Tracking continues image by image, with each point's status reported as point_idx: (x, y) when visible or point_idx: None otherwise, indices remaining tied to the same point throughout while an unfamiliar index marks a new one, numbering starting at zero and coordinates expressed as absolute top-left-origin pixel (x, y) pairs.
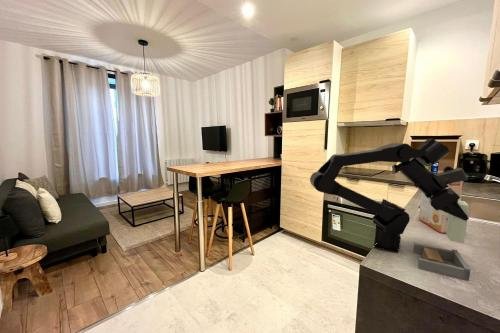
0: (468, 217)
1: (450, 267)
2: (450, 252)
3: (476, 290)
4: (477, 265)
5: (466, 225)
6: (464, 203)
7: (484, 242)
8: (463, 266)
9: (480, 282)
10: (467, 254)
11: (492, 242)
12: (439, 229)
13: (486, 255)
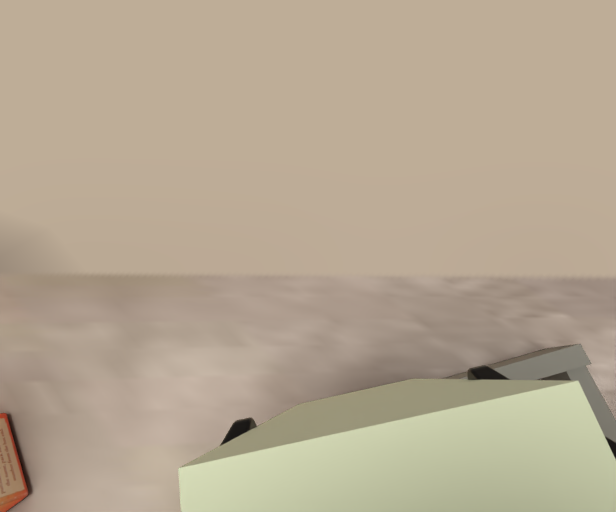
0: (495, 372)
1: (613, 419)
2: None
3: (607, 325)
4: (355, 325)
5: (445, 379)
6: (426, 471)
7: (58, 306)
8: (567, 369)
9: (517, 315)
10: (259, 360)
11: (40, 282)
12: (8, 504)
13: (214, 300)
